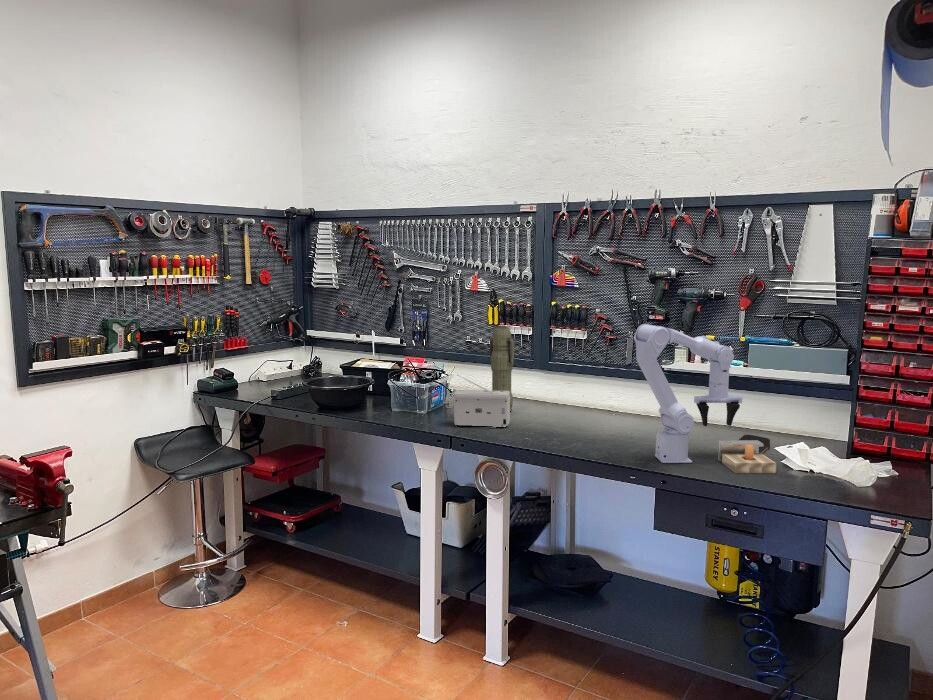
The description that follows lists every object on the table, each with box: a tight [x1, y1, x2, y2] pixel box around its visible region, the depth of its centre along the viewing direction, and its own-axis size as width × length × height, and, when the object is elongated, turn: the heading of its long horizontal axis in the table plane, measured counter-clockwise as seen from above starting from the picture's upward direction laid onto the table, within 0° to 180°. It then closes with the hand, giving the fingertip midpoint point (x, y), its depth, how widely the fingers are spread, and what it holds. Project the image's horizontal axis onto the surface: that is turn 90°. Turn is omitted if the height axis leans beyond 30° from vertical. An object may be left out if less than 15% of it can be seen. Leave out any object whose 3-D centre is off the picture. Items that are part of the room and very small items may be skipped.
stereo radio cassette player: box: [453, 374, 511, 428], centre depth 257 cm, size 21×8×20 cm, turn 84°
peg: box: [745, 444, 754, 460], centre depth 205 cm, size 2×2×7 cm
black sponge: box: [738, 434, 771, 454], centre depth 224 cm, size 16×8×4 cm, turn 143°
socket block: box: [721, 453, 777, 474], centre depth 206 cm, size 12×10×3 cm
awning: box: [717, 439, 764, 462], centre depth 212 cm, size 12×4×6 cm, turn 91°
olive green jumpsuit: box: [489, 325, 515, 412], centre depth 281 cm, size 9×12×35 cm
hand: (716, 425), depth 218 cm, fingers open, 7 cm apart
